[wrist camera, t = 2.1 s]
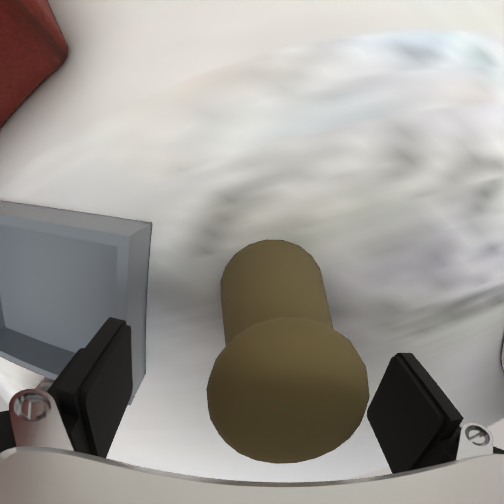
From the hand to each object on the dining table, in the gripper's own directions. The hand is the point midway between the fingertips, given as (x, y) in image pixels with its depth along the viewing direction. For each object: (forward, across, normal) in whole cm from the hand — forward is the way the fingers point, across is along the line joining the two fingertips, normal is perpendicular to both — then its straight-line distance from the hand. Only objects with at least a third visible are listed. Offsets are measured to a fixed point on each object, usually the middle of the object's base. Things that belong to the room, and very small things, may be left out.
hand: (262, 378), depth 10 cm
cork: (+9, -1, 0) cm, 9 cm away
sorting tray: (+9, +13, +2) cm, 16 cm away
